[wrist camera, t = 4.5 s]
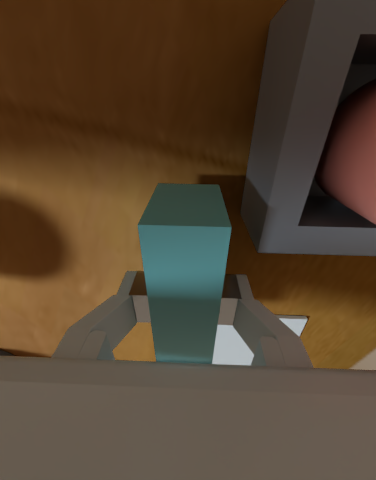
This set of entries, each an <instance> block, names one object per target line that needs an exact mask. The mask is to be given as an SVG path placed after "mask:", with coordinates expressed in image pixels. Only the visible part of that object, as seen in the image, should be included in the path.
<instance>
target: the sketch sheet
mask: <svg viewBox="0 0 376 480" xmlns="http://www.w3.org/2000/svg"><path fill="white" fill-rule="evenodd" d="M275 316H276V317H277V318H279V319H280V320H281V321H282V322H283V323H284V324H285V325H287V326H288V327H289V328H290V329H291V330H292V331H293V332H295V333H296V334H297V335H298V336H300V334H301V332H302V330H303V328H304V326H305V324H306V322H307V320H308V319H307V317H306V316H288V315H275ZM253 357H254V354H253V353H252V351H251V350H250V349H249V347H248V346H247V345H246V343H245V342H244V341H243V339H242V338H241V337H240V335H239V334H238V333H237V331H236V330H235V328H234V327H233V326H232V325H218V326H217V332H216V339H215V346H214V353H213V360H212V364H226V365H251V363H252V360H253Z"/></svg>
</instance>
